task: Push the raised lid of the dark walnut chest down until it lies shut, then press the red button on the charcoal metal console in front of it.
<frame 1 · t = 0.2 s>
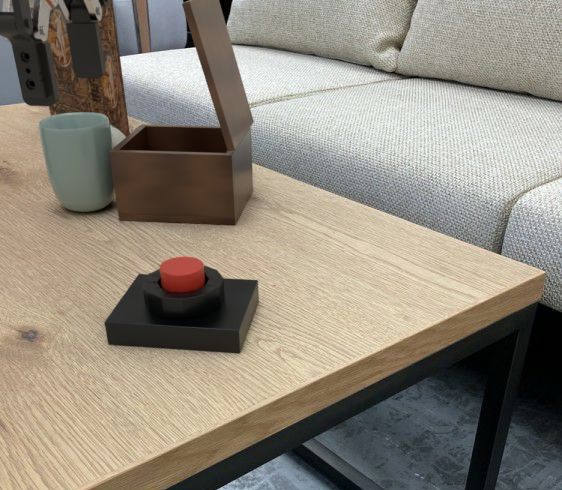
hand: (68, 90, 49), 19 cm above the table, tool pointing down, fingers open, 8 cm apart
console: (187, 322, 60), on the table
book: (92, 133, 112), on the table
seashell: (97, 170, 96), on the table
cup: (88, 208, 84), on the table
button: (182, 275, 58), point 4 cm above the table, slide at 0.1 cm
chest: (189, 204, 84), on the table
lid: (221, 69, 75), point 15 cm above the table, hinge at 75.0°
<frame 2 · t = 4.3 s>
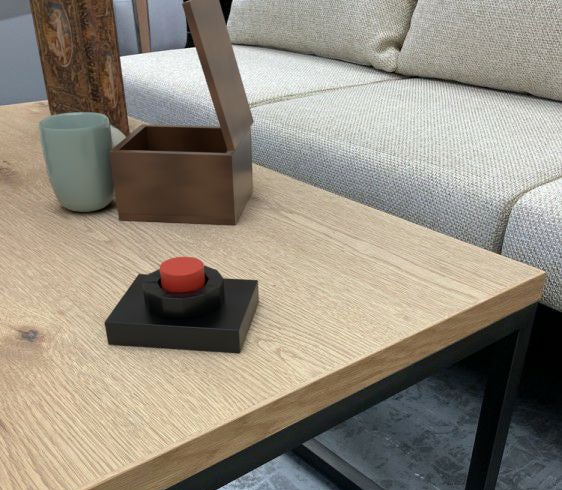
nothing on the table moved.
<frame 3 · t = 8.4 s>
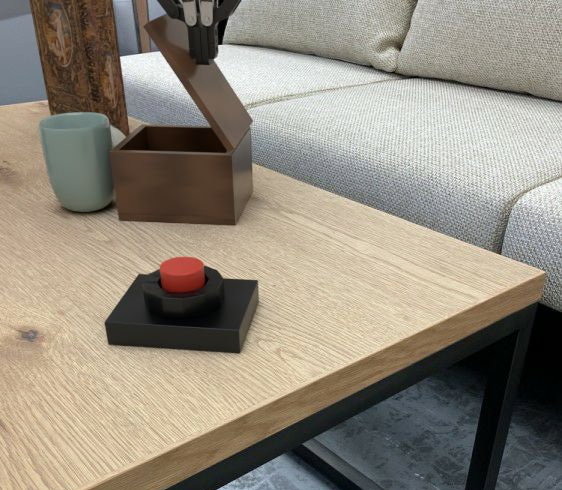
hand: (204, 63, 75), 16 cm above the table, tool pointing down, fingers closed
lid: (203, 78, 76), point 14 cm above the table, hinge at 56.8°, touching gripper
everything else where it was.
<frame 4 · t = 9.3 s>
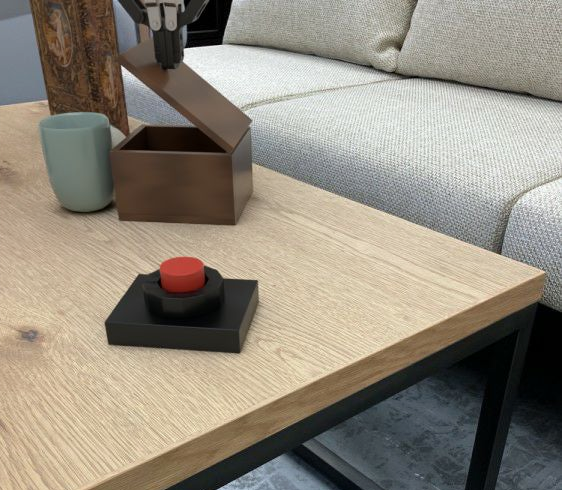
hand: (170, 67, 75), 15 cm above the table, tool pointing down, fingers closed
lid: (189, 92, 77), point 13 cm above the table, hinge at 38.7°, touching gripper
everything else where it was.
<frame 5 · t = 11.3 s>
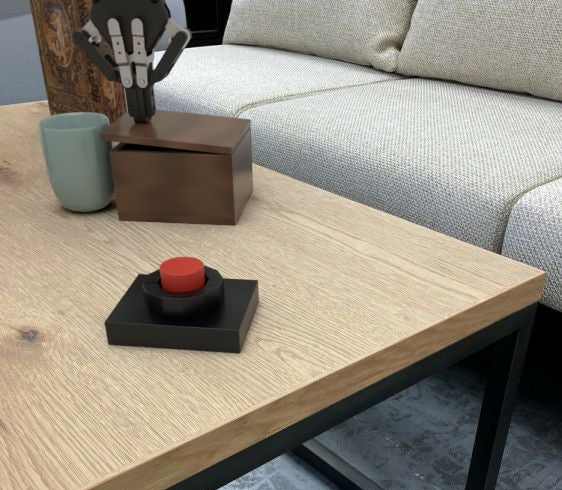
hand: (143, 120, 79), 10 cm above the table, tool pointing down, fingers closed
lid: (179, 129, 79), point 9 cm above the table, hinge at 4.6°, touching gripper
everything else where it was.
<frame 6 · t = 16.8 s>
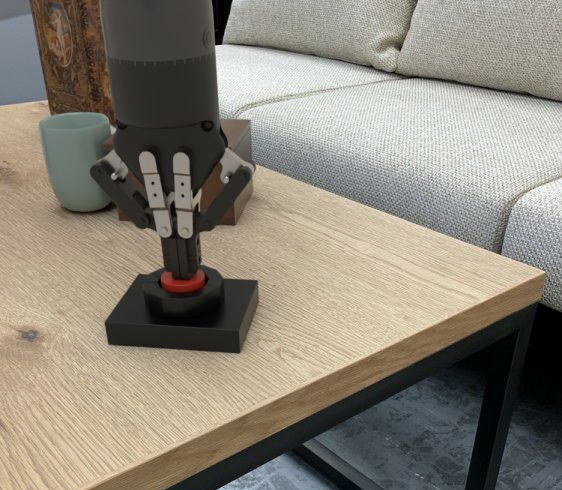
hand: (183, 275, 58), 4 cm above the table, tool pointing down, fingers closed
button: (183, 285, 58), point 4 cm above the table, slide at -0.8 cm, touching gripper
lid: (179, 134, 79), point 8 cm above the table, hinge at 0.0°
everything else where it was.
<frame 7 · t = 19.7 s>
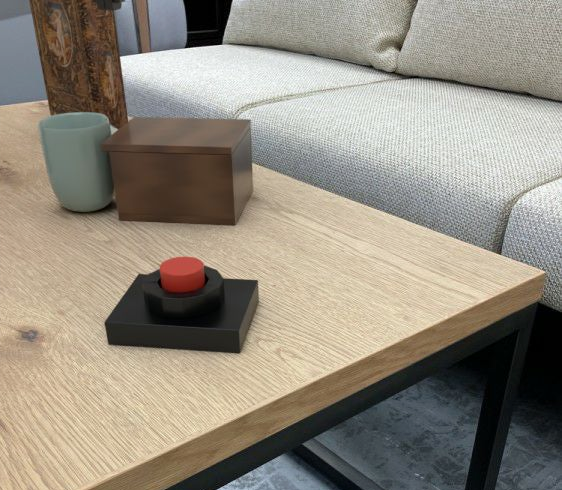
hand: (109, 9, 62), 22 cm above the table, tool pointing down, fingers closed
button: (182, 275, 58), point 4 cm above the table, slide at 0.1 cm
everything else where it was.
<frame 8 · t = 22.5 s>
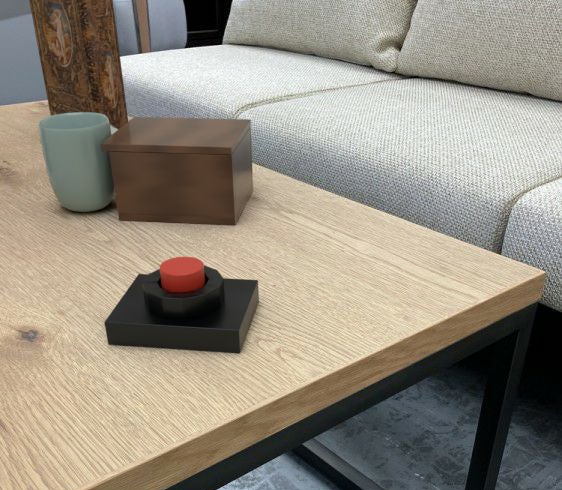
nothing on the table moved.
at the end: lid at +0° (first picture: +75°); button pushed in 1.1 cm at the most during the clip, back to where it started at the end; button slide at 0.1 cm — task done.
